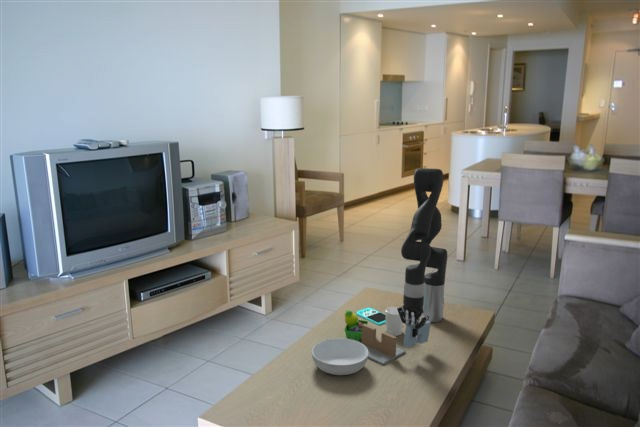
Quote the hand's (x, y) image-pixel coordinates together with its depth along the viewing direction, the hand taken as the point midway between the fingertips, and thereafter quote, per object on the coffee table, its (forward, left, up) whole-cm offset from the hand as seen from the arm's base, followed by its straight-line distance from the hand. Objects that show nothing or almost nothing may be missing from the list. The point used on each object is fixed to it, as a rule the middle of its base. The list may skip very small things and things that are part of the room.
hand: (411, 335), depth 198 cm
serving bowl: (+25, -14, -10) cm, 30 cm away
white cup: (-13, -18, -10) cm, 24 cm away
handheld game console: (-20, -34, -10) cm, 41 cm away
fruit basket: (+2, -27, -10) cm, 29 cm away
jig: (+5, -12, -10) cm, 16 cm away
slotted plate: (-3, 0, -4) cm, 5 cm away
